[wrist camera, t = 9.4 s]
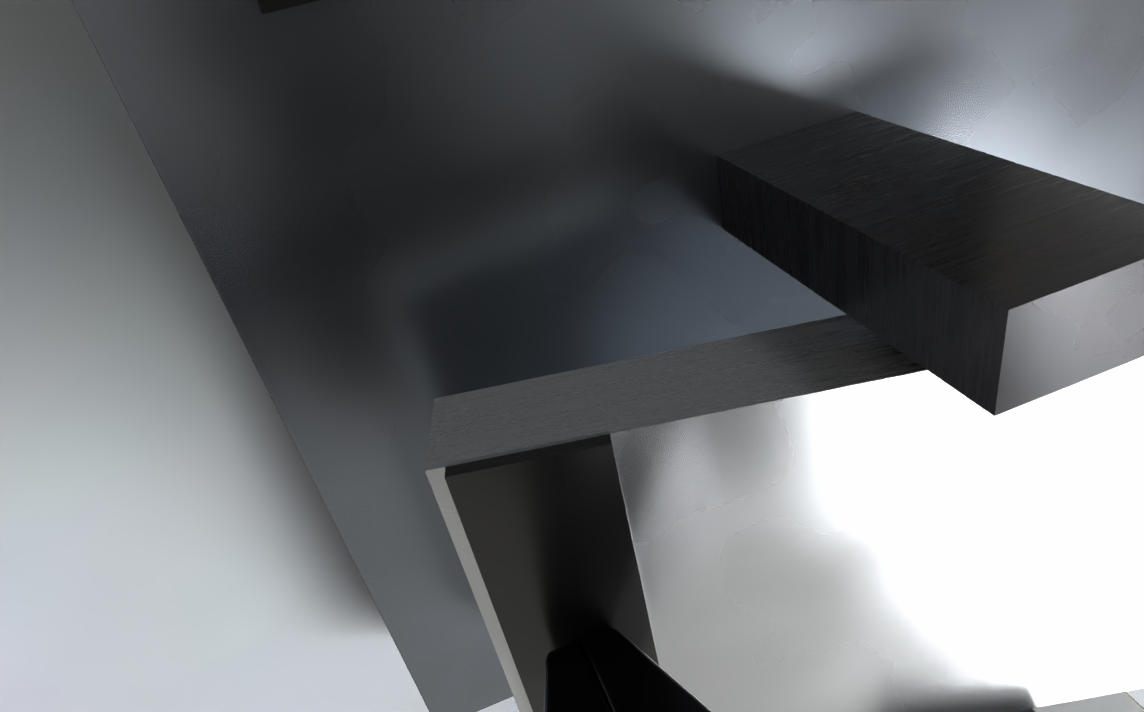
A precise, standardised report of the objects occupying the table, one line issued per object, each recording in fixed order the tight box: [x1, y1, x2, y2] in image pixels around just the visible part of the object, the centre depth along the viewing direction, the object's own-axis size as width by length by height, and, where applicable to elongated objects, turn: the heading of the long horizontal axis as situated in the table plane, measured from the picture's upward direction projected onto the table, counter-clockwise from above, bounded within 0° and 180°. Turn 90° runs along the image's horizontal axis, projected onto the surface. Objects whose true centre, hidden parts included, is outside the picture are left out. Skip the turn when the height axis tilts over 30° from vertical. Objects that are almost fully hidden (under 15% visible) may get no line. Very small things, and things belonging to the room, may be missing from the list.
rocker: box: [425, 314, 1144, 712], centre depth 9 cm, size 11×6×1 cm, turn 102°
